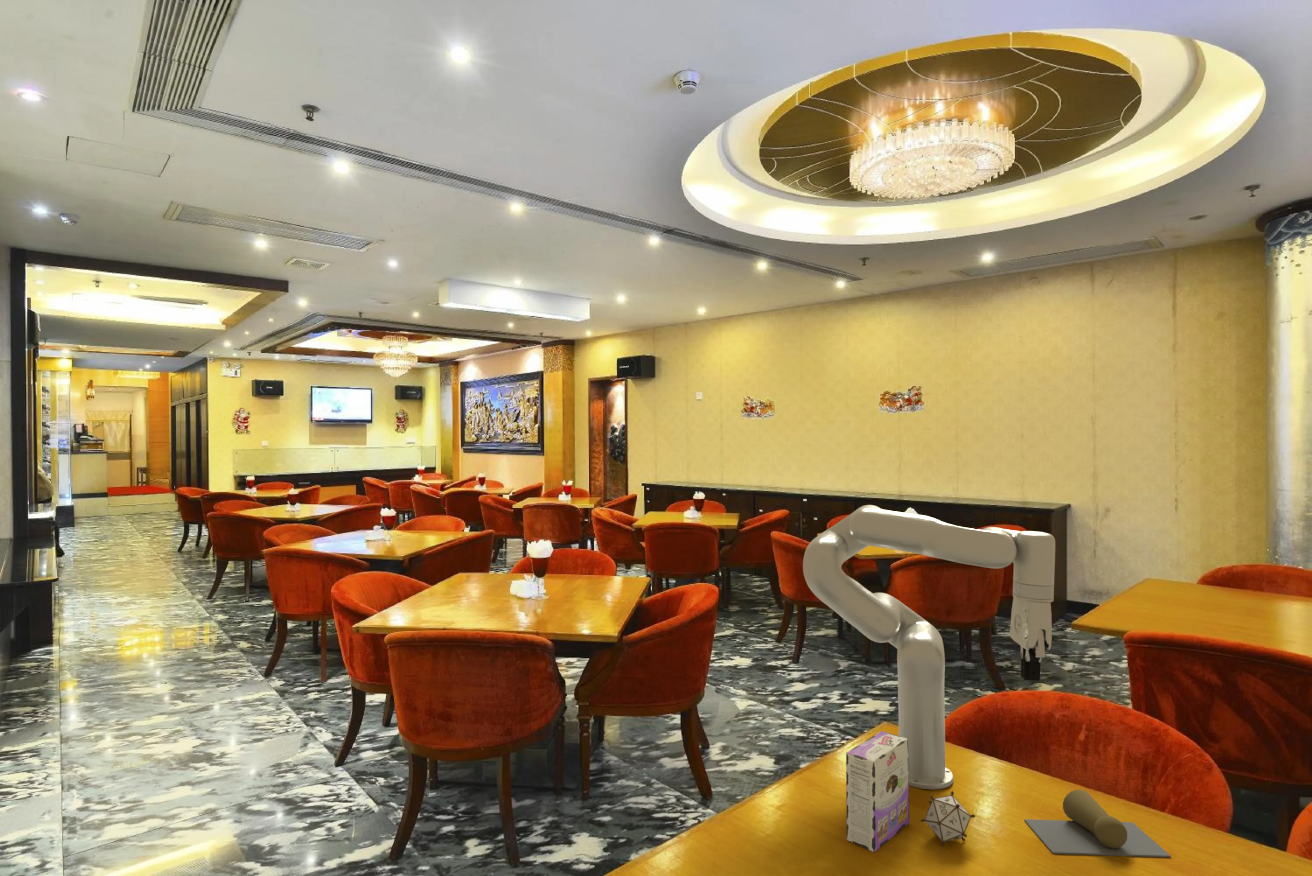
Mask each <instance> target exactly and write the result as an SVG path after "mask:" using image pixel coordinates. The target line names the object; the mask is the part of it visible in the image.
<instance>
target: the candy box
mask: <svg viewBox="0 0 1312 876" xmlns="http://www.w3.org/2000/svg"><path fill="white" fill-rule="evenodd" d="M845 757H846V758H845V764H846V765H845V766H846V767H845V768H846V769H845V771H846V773H845V774H846V775H845V776H846V777H845V780H846V781H845V782H846V784H845V785H846V787H845V788H846V789H845V790H846V796H845V797H846V799H845V801H846V802H845V803H846V841H848V842H850V841H851V842H850V843H852V842H853V843H852V844H854V843H855V844H854V845H857V846H858V845H859V847H860V846H862V847H861V848H863V849H865V848H866V849H865V850H867V849H868V851H869V850H870V851H869V852H871V851H872V852H871V853H876V851H878V850H879V849H880V848H881V847H882V846H883V845H885V844H886V843H887V842H888V841H889V840H891V839H892V838H893V837H894V836H895V835H896V834H898V833H899V832H900V831H901V830H902V829H903V828H905V827H906V826H907V825H909V824H910V797H909V796H910V795H909V792H910V791H909V788H910V786H909V780H908V779H909V778H908V739H907V738H904V737H900V736H899V735H896V734H892V733H889V732H886V731H882V730H881V731H879V732H877V733H876V734H875V735H873V736H871V737H870V738H867V740H865V741H863V742H862V743H860V744H858V745H856V746H854V747H853V748H851V749H850V750H848V751H846V753H845Z"/></svg>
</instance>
